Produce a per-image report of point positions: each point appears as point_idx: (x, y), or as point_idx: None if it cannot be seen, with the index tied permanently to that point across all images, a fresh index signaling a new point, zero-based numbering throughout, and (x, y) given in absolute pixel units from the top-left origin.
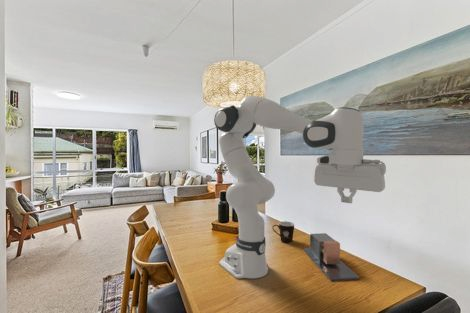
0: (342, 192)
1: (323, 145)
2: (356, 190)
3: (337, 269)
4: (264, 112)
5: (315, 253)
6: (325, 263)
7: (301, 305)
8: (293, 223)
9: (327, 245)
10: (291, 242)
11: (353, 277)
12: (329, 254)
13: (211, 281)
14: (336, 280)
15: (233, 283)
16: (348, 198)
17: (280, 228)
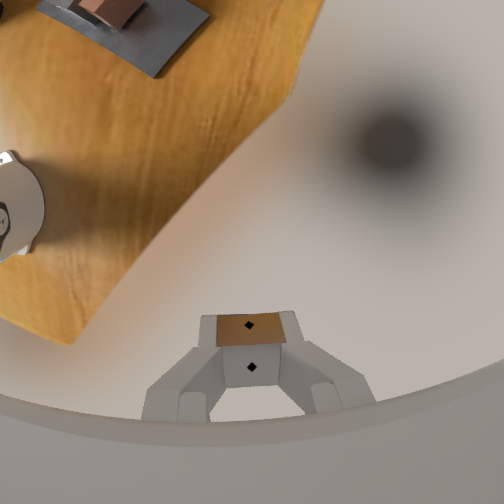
0: (197, 389)
1: None
2: (370, 390)
3: (149, 22)
4: None
5: (72, 13)
6: None
7: (156, 221)
8: None
9: (97, 12)
10: (2, 10)
11: (198, 26)
12: (114, 15)
13: (19, 292)
14: (165, 65)
15: (37, 268)
16: (277, 378)
17: None
